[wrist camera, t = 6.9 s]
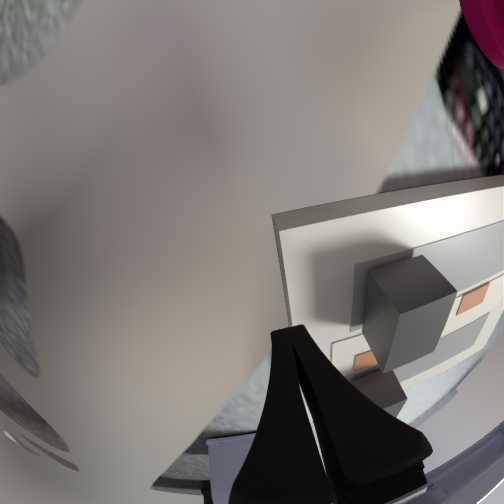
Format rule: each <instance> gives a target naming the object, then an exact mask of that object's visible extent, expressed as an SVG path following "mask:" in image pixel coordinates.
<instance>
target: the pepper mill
mask: <svg viewBox="0 0 504 504" xmlns="http://www.w3.org/2000/svg"><path fill="white" fill-rule="evenodd" d="M460 6H461V9H462V12H463V15H464V18H465V21H466V23H467V26H468V28H469V30H470V32H471V34H472V36H473V38H474V39H475V41H476V43H477V44H478V46H479V48H480V49H481V51H482V52H483V53H484V55H485V56H486V57H487V58H488V59H489V60H490V61H491V62H492V63H493V64H494V65H495V66H497V67H498V68H500V69H503V70H504V0H460Z"/></svg>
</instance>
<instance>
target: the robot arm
mask: <svg viewBox="0 0 504 504" xmlns="http://www.w3.org/2000/svg"><path fill="white" fill-rule="evenodd" d="M270 334H271V340H272V341H271V342H272V359H271V370H270V378H269V384H268V390H267V395H266V400H265V404H264V408H263V412H262V416H261V419H260V422H259V425H258V428H257V431H256V433H253V434H247V435H240V436H232V437H224V438H215V439H207V440H206V444H207V445H208V452H209V468H210V482H211V494H212V500H213V504H331V503H333V504H393V503H395V502H397V501H399V500H401V499H404V498H406V497H408V496H410V495H412V494H414V493H416V492H418V491H420V490H422V489H424V488H426V487H427V490H426V492H425V493H423V494H420V495H418V496H416V497H413V498H411V499H410V500H407V501H405V502H403V503H401V504H478V503H479V502H481V501H482V500H483V499H484V498H485V497H486V496H487V495H488V494H490V493H491V492H492V491H493V490H494V489H495V488H496V487H497V486H498V485H499V484H500V483H501V482H502V481H503V480H504V421H502V422H501V423H500V424H499V425H498V426H497V427H496V428H494V429H493V430H492V431H491V432H489V433H488V434H487V435H486V436H484V437H483V438H482V439H480V440H479V441H478V442H476V443H475V444H473V445H472V446H471V447H469V448H468V449H466V450H465V451H463V452H462V453H460V454H459V455H457V456H456V457H454V458H452V459H451V460H449V461H447V462H446V463H444V464H442V465H441V466H439V467H437V468H436V469H434V470H432V471H430V472H428V473H426V474H424V472H423V468H424V464H423V460H424V459H426V458H427V457H428V456H430V455H431V454H432V452H433V449H432V447H431V445H430V443H429V441H428V440H427V438H426V437H425V436H424V434H423V433H422V432H420V431H419V430H417V429H415V428H413V427H411V426H409V425H408V424H406V423H404V422H402V421H401V420H399V419H397V418H396V417H394V416H393V415H391V414H389V413H388V412H387V411H385V410H384V409H382V408H381V407H380V406H378V405H377V404H375V403H374V402H373V401H371V400H370V399H369V398H368V397H366V396H365V395H364V394H363V393H362V392H360V391H359V390H358V389H357V388H356V387H355V386H354V385H353V384H352V383H350V382H349V381H348V380H347V379H346V378H345V377H344V376H343V375H342V374H341V372H340V371H339V370H338V369H337V368H336V367H335V366H334V365H333V364H332V363H331V361H330V360H329V359H328V358H327V357H326V356H325V354H324V353H323V352H322V351H321V349H320V348H319V347H318V345H317V344H316V343H315V341H314V340H313V338H312V337H311V335H310V334H309V332H308V331H307V329H306V327H305V325H303V324H300V325H296V326H292V327H288V328H284V329H279V330H275V331H272V332H271V333H270ZM299 384H300V385H299ZM300 387H301V389H300ZM301 390H302V393H303V395H304V398H305V401H306V403H307V406H308V409H309V411H310V414H311V417H312V420H313V423H314V426H315V429H316V433H317V437H318V441H319V445H320V449H321V453H322V458H323V462H324V466H325V469H324V466H323V463H322V460H321V457H320V454H319V451H318V447H317V444H316V441H315V438H314V434H313V431H312V428H311V424H310V421H309V418H308V414H307V411H306V408H305V404H304V401H303V397H302V394H301ZM325 470H326V473H325ZM326 475H327V476H326Z"/></svg>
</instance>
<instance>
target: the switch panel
mask: <svg viewBox="0 0 504 504" xmlns="http://www.w3.org/2000/svg"><path fill="white" fill-rule="evenodd" d="M272 220H273V226H274V232H275V238H276V244H277V251H278V257H279V263H280V269H281V276H282V281H283V288H284V294H285V302H286V308H287V315H288V322H289V327H292V326H296V325H300V324H303V325H305V327H306V329H307V331H308V332H309V334H310V335H311V337H312V338H313V340H314V341H315V343H316V344H317V345H318V347H319V348H320V349H321V351H322V352H323V353H324V354H325V356H326V357H327V358H328V359H329V360H330V361H331V363H332V364H333V365H334V366H335V367H336V368H337V369H338V370H339V371H340V372H341V374H342V375H343V376H344V377H345V378H346V379H347V380H348V381H349V382H351V381H352V380H355V379H358V378H361V377H364V376H366V375H369V374H372V373H375V372H377V371H380V370H381V369H380V367H379V365H378V363H377V361H376V359H375V357H374V355H373V353H372V351H371V349H370V347H369V345H368V343H367V341H366V339H365V337H364V335H363V333H362V325H363V318H364V309H365V300H366V290H367V279H368V270H371V269H375V268H378V267H382V266H385V265H389V264H392V263H396V262H399V261H403V260H406V259H409V258H413V257H416V256H419V255H423V256H424V257H425V258H426V259H427V260H428V261H429V262H430V263H431V264H432V265H433V266H434V267H435V268H436V269H437V270H438V271H439V272H440V273H441V274H442V275H443V276H444V277H445V278H446V279H447V280H448V281H449V282H450V283H451V284H452V285H453V287H454V288H455V289H456V290H457V291H458V292H457V295H456V298H455V301H454V304H453V306H452V309H451V312H450V314H449V317H448V320H447V322H446V325H445V327H444V330H443V332H442V334H441V337H440V339H439V341H438V344H437V346H436V348H435V350H434V352H432V353H430V354H428V355H426V356H424V357H421V358H419V359H417V360H415V361H413V362H410V363H408V364H406V365H403V366H401V367H398V368H396V369H393V371H394V373H395V375H396V377H397V379H398V381H399V383H400V385H401V387H402V389H403V390H406V389H408V388H410V387H412V386H414V385H417V384H419V383H421V382H423V381H425V380H427V379H429V378H431V377H433V376H435V375H437V374H439V373H441V372H443V371H445V370H446V369H448V368H450V367H452V366H454V365H455V364H457V363H459V362H461V361H462V360H464V359H466V358H468V357H469V356H471V355H472V354H474V353H476V352H477V351H479V350H480V349H482V348H483V347H484V346H485V344H486V342H487V340H488V339H489V337H490V335H491V333H492V331H493V329H494V328H495V326H496V324H497V322H498V320H499V318H500V316H501V314H502V312H503V310H504V175H497V176H489V177H482V178H474V179H467V180H460V181H453V182H447V183H440V184H434V185H427V186H421V187H415V188H409V189H403V190H397V191H391V192H385V193H380V194H374V195H369V196H363V197H358V198H353V199H347V200H342V201H336V202H331V203H326V204H321V205H317V206H311V207H307V208H302V209H296V210H292V211H287V212H282V213H277V214H273V215H272ZM299 385H300V384H299ZM300 389H301V387H300ZM301 394H302V397H303V401H304V404H305V408H306V411H307V414H308V418H309V421H310V422H313V420H312V417H311V414H310V411H309V409H308V406H307V403H306V401H305V398H304V395H303V393H302V390H301Z"/></svg>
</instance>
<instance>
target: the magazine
mask: <svg viewBox="0 0 504 504" xmlns="http://www.w3.org/2000/svg"><path fill="white" fill-rule="evenodd" d="M201 492H202V494H203V496H204V504H213V500H212V494H211V482H210V481H203V488H201Z"/></svg>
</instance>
